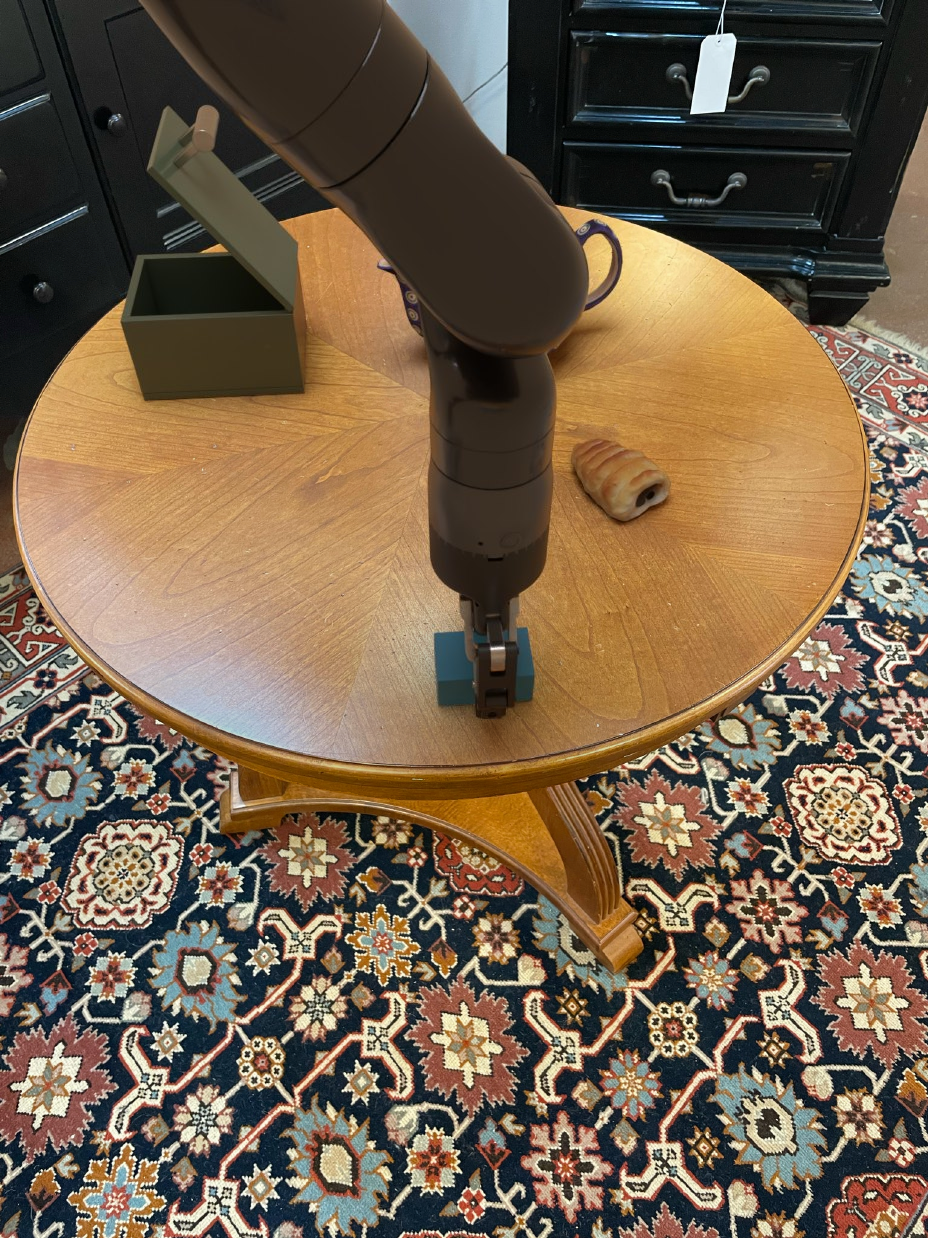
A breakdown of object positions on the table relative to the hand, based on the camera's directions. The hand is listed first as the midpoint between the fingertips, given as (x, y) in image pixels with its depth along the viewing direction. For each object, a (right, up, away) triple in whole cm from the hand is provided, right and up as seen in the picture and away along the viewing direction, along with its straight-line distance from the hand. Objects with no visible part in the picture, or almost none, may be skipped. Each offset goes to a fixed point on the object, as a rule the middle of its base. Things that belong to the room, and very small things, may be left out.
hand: (484, 666), depth 71 cm
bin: (-25, +30, +27) cm, 47 cm away
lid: (-23, +40, +15) cm, 48 cm away
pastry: (+12, +15, +15) cm, 24 cm away
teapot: (+2, +32, +29) cm, 43 cm away
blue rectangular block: (0, -1, +1) cm, 2 cm away
